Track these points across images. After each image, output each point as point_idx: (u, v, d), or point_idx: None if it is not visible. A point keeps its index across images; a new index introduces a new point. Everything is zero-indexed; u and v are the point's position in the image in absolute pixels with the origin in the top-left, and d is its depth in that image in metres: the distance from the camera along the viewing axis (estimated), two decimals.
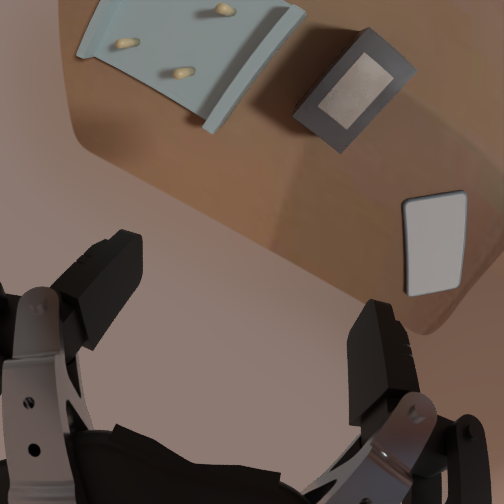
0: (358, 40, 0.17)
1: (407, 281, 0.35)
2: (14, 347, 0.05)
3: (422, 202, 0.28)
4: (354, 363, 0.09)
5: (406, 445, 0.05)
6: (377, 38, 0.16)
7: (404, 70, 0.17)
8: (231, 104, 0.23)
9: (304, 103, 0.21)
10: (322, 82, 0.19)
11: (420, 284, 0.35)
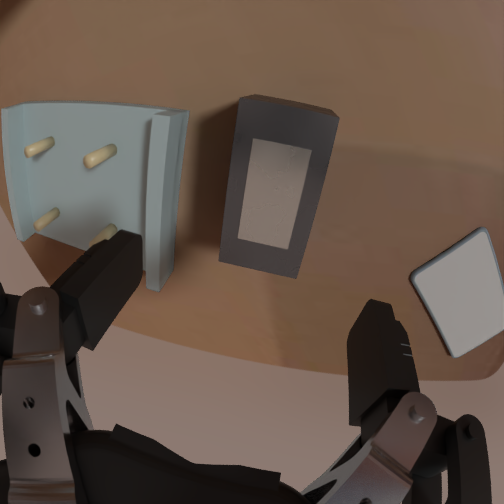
0: (237, 126, 0.14)
1: (447, 346, 0.25)
2: (14, 347, 0.05)
3: (433, 266, 0.21)
4: (354, 363, 0.09)
5: (406, 445, 0.05)
6: (259, 106, 0.13)
7: (320, 129, 0.14)
8: (158, 258, 0.22)
9: (222, 241, 0.18)
10: (226, 207, 0.17)
11: (464, 343, 0.25)
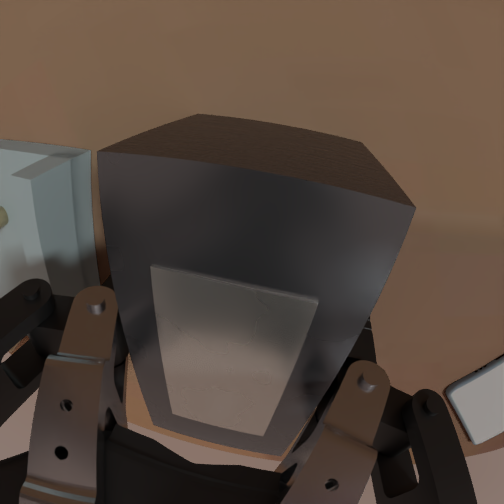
0: (108, 231, 0.05)
1: (471, 438, 0.16)
2: (62, 343, 0.05)
3: (479, 378, 0.12)
4: None
5: (362, 416, 0.05)
6: (151, 174, 0.04)
7: (350, 245, 0.04)
8: None
9: (150, 409, 0.09)
10: (139, 376, 0.08)
11: (490, 432, 0.15)
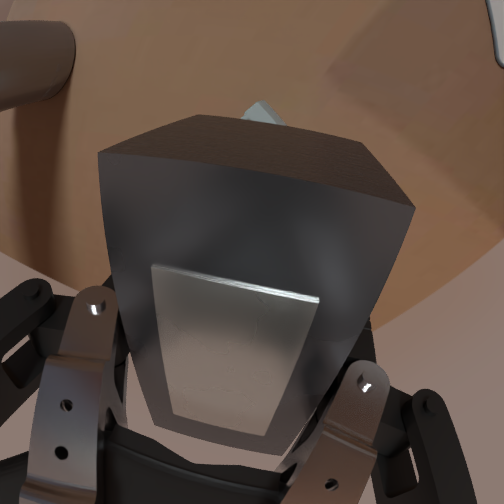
0: (109, 232, 0.05)
1: None
2: (62, 343, 0.05)
3: (499, 41, 0.12)
4: None
5: (362, 416, 0.05)
6: (152, 175, 0.04)
7: (350, 245, 0.04)
8: None
9: (151, 409, 0.09)
10: (140, 376, 0.08)
11: None
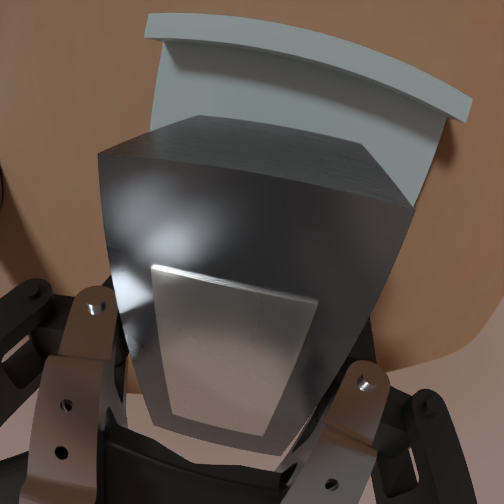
0: (109, 232, 0.05)
1: None
2: (62, 343, 0.05)
3: None
4: None
5: (362, 416, 0.05)
6: (152, 176, 0.04)
7: (350, 248, 0.04)
8: (404, 65, 0.09)
9: (150, 409, 0.09)
10: (139, 376, 0.08)
11: None
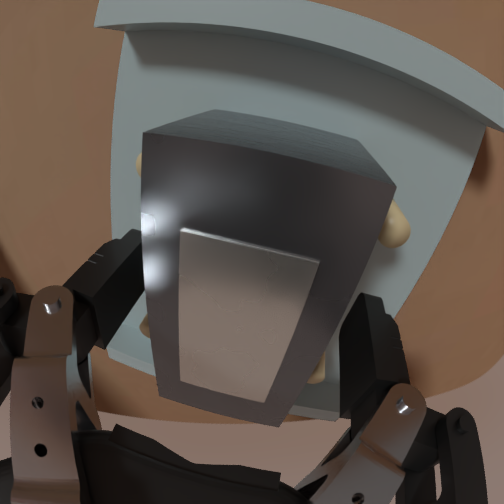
0: (145, 200, 0.06)
1: None
2: (26, 345, 0.05)
3: None
4: (345, 356, 0.09)
5: (396, 437, 0.05)
6: (189, 153, 0.05)
7: (345, 215, 0.05)
8: (443, 55, 0.05)
9: (158, 377, 0.10)
10: (153, 341, 0.09)
11: None
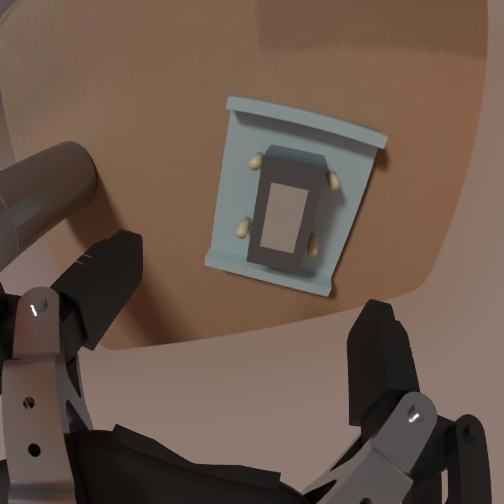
0: (261, 174, 0.23)
1: None
2: (14, 346, 0.05)
3: None
4: (354, 363, 0.09)
5: (406, 445, 0.05)
6: (275, 162, 0.22)
7: (314, 177, 0.22)
8: (350, 125, 0.22)
9: (249, 248, 0.27)
10: (253, 225, 0.26)
11: None
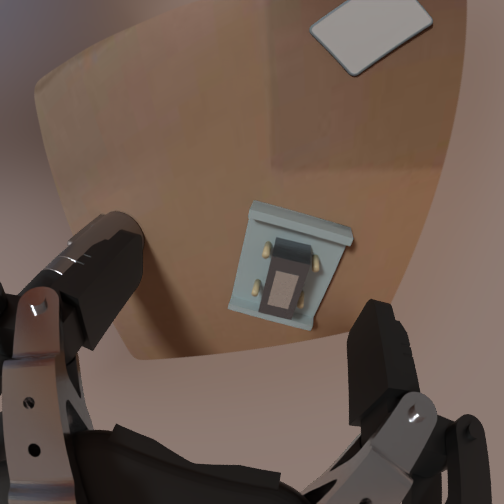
0: (270, 265, 0.38)
1: (419, 31, 0.24)
2: (14, 347, 0.05)
3: (343, 62, 0.29)
4: (354, 363, 0.09)
5: (406, 445, 0.05)
6: (279, 259, 0.38)
7: (302, 269, 0.38)
8: (329, 232, 0.38)
9: (260, 304, 0.42)
10: (263, 293, 0.41)
11: (414, 16, 0.23)
